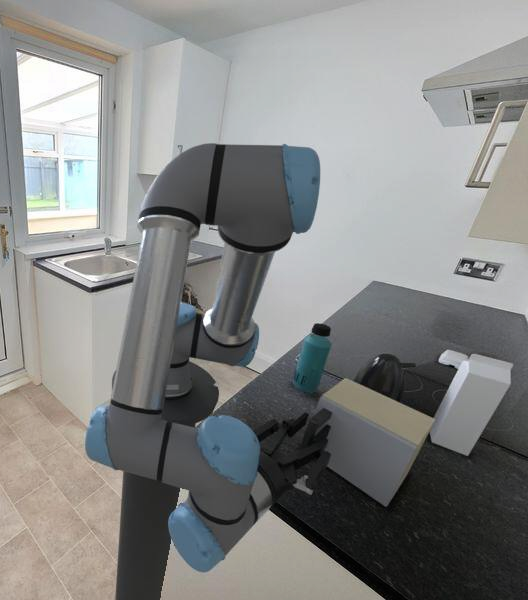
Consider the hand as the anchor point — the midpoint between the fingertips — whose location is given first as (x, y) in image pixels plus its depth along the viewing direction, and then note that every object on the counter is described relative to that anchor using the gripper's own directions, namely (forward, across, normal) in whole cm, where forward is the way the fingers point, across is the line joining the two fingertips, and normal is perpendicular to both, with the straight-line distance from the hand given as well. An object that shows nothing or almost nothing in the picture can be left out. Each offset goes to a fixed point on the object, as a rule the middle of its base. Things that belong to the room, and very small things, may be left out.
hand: (316, 424), depth 63 cm
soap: (+82, +8, -7) cm, 83 cm away
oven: (+7, +7, -8) cm, 12 cm away
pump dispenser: (+32, +2, -8) cm, 33 cm away
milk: (+31, +17, -8) cm, 37 cm away
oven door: (-3, +6, -8) cm, 10 cm away
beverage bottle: (+22, -11, -8) cm, 26 cm away
